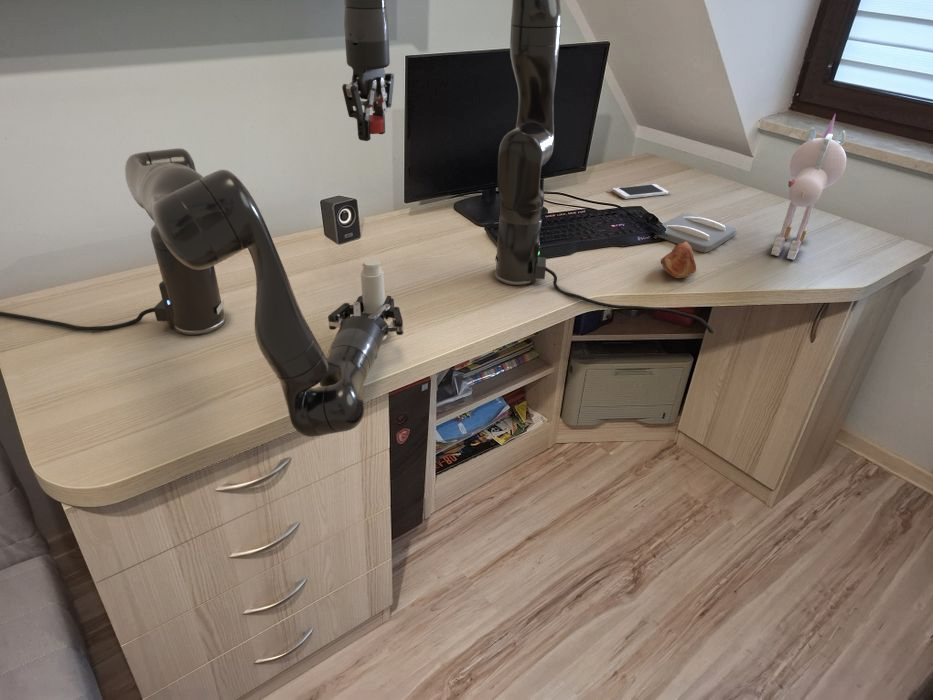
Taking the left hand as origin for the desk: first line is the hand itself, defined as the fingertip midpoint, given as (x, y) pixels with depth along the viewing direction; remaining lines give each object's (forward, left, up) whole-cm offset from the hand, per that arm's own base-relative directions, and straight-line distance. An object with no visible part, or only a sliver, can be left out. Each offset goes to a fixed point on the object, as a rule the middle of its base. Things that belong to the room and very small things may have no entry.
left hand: (377, 299), depth 120 cm
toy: (+97, +60, -7) cm, 114 cm away
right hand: (-3, +16, +26) cm, 30 cm away
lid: (-3, +16, +29) cm, 33 cm away
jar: (0, -3, -7) cm, 7 cm away
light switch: (+72, +58, -7) cm, 93 cm away
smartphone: (+62, +88, -7) cm, 108 cm away
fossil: (+63, +34, -7) cm, 72 cm away
